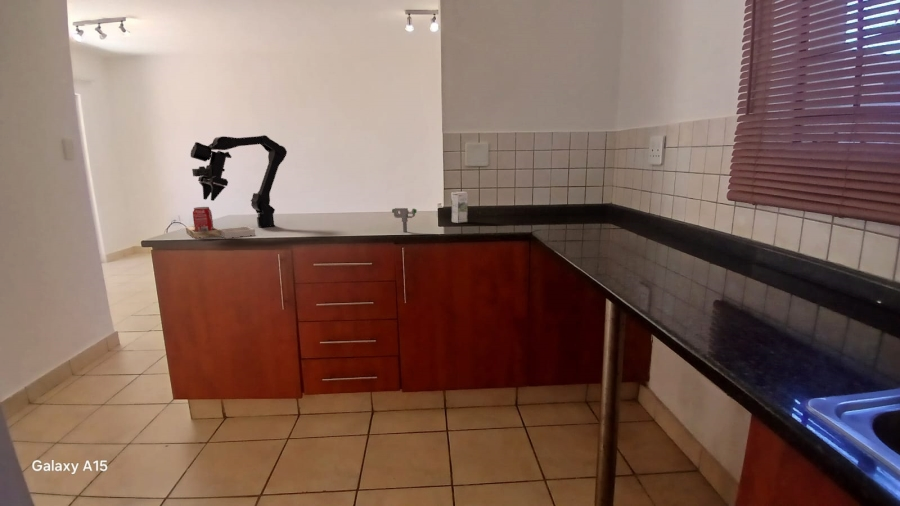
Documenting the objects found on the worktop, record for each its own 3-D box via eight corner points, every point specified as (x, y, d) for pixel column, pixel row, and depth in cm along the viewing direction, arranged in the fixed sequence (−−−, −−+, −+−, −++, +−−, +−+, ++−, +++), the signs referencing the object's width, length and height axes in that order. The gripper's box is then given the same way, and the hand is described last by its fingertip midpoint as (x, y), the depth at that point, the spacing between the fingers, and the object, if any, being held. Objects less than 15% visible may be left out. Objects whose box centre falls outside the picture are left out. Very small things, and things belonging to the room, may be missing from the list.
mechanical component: (415, 232, 195) (414, 209, 193) (392, 232, 197) (391, 208, 195) (417, 231, 198) (416, 208, 196) (394, 231, 200) (393, 208, 198)
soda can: (208, 233, 203) (205, 206, 200) (217, 235, 199) (214, 207, 196) (192, 236, 197) (188, 208, 195) (201, 237, 193) (197, 208, 191)
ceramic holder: (248, 231, 206) (247, 226, 205) (255, 235, 197) (254, 229, 196) (219, 234, 199) (218, 229, 199) (225, 238, 190) (224, 232, 190)
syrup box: (461, 220, 228) (460, 191, 225) (468, 222, 223) (467, 191, 220) (451, 222, 225) (450, 191, 222) (458, 223, 220) (457, 192, 217)
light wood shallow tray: (210, 230, 212) (210, 224, 212) (219, 235, 197) (219, 229, 196) (186, 232, 207) (185, 227, 206) (194, 238, 191) (193, 232, 191)
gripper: (189, 159, 203) (181, 194, 202) (204, 158, 190) (195, 196, 189) (216, 167, 211) (208, 200, 210) (232, 167, 198) (223, 203, 197)
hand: (208, 199), depth 202 cm, fingers open, 9 cm apart
